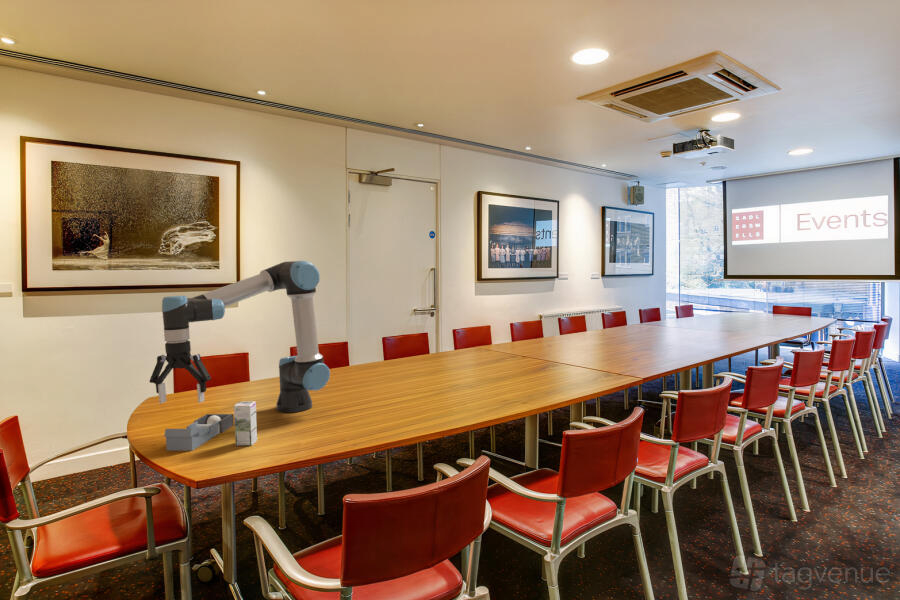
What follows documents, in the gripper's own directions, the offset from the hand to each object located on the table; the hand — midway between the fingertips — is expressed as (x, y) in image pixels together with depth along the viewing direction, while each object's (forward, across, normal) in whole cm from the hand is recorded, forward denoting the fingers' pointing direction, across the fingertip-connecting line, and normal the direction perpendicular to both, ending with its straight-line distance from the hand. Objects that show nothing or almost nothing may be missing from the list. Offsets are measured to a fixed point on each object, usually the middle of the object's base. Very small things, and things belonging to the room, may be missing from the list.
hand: (182, 402), depth 167 cm
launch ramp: (+16, 0, -5) cm, 17 cm away
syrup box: (+16, -20, -3) cm, 26 cm away
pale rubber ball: (+13, 0, -18) cm, 23 cm away
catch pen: (+16, 0, -19) cm, 25 cm away
